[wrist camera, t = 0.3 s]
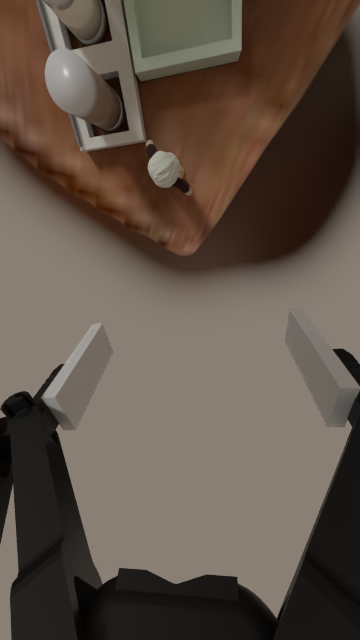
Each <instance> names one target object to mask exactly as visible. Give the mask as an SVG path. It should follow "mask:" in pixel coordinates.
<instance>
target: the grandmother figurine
mask: <svg viewBox="0 0 360 640" xmlns="http://www.w3.org/2000/svg"><path fill="white" fill-rule="evenodd" d="M146 150H147V154H148V156H149V158H150V161H149V163H148V171H149V174H150V176H151V178H152V179H153V181H154V183H155V184H156V185H157V186H159V187H161V188H164V187H165V188H167V187H171V186H174V187H176V188H178V189H180V190H181V191H182V192H183V193H185V194H186V195H188V196H189V195H191V194H192V188H191V187H190V186H189V184H188V183H187V182H185V181H184V180H182V178H183V176H184V174H185V169H184V168H183V166H181V165H180V162H179V160H178V159H177V157H176V156H175V155H174V154H173V153H171V152H167V153H166V152H164V151H158V152H157V149H156V147H155V145H154V142H153V141H152V140H148V141H147V142H146Z"/></svg>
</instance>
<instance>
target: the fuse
mask: <svg viewBox="0 0 360 640" xmlns="http://www.w3.org/2000/svg"><path fill="white" fill-rule="evenodd" d="M43 1H44V2H45V3H46V4H47V6H48V7H49V8H50V9H51V10H52V11H53V12H54V13H55V14H56V15H57V17H58V18H59V19H60V20H61V21H62V22H63V23H64V24H65V25H66V26H67V28H68V29H69V30H70V31H71V32H72V33H73V34H74V35H75V36H76V37H77V39H78V40H79V41H80V42H81V43H83V44H84V45H86V46H92V45H96V44H100V43H101V42H102V40H103V39H104V37H105V34H106V30H107V17H106V11H105V8H104V5H103V3H102V1H101V0H43Z"/></svg>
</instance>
